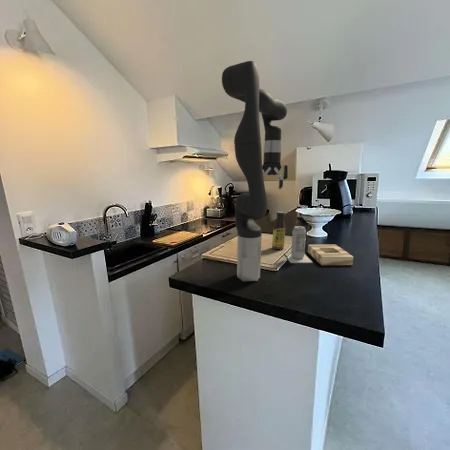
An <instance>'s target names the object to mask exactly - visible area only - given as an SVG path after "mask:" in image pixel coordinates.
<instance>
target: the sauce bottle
mask: <svg viewBox="0 0 450 450" xmlns="http://www.w3.org/2000/svg"><path fill="white" fill-rule="evenodd" d="M275 220H276V221H275V222H274V223H273V229H272V231H273V232H272V241H271V245H272V247H271V248H272V249H273V250H275V249H282V250H284V247H285V239H286V238H285V237H286V223H285V211H276V219H275Z"/></svg>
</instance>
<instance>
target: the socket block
mask: <svg viewBox="0 0 450 450" xmlns="http://www.w3.org/2000/svg"><path fill="white" fill-rule="evenodd" d="M307 253H308V254H309V255H310V256H311V257H312V258H313V259H314V260H315V261H316V262H317V263H318V264H320V265H321V266H353V263H354V256H353V255H352V254H350V253H349V252H348V251H346V250H344V248H342V247H340V246H338V245H337V244H308V246H307Z"/></svg>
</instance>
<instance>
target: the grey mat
mask: <svg viewBox="0 0 450 450" xmlns="http://www.w3.org/2000/svg"><path fill="white" fill-rule="evenodd" d="M287 260H288V262H289V264H313V263H314V262H313V261H312V260H311V259H310V258H309V257H308V256H307V254H306V253H304V257H303V259H294V258H292V256H291V255H290V256H289V258H288V259H287Z"/></svg>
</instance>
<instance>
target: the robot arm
mask: <svg viewBox="0 0 450 450" xmlns="http://www.w3.org/2000/svg"><path fill="white" fill-rule="evenodd" d="M221 75H222V76H221V85H222V88H223V90H224V92H225V94H226V95H228V96H229V97H231V98H233V99H235V100H238V101H240V102H243V103H244V110H243V111H244V112H243V114H242V117H241V120H240V122H239V124H238V126H237V128H236V131H235V135H234V138H233V143H234V153H235V159H236V162H237V165H238V167H239V169H240V170H241V172H242V174H243V176H244V177H245V179H246V182H247V186H248V192H242V193H239V194H238V196H237V198H236V200H235V203H234V204H235V205H234V216H235V228H236V230H237V246H236V247H237V250H236V251H237V252H236V253H237V254H236V258H237V259H236V277H237V278H238V279H239V280H240V281H241V282H258V281H259V279H260V278H261V259H262V257H261V255H262V232H263V231H262V228H261V226H260V225H258V223H256V221H255V220H262V219H263V218H264V217H265V215H266V214H267V210H268V198H267V193H266V185H265V180H264V178H265V177H266V176H277V177H278V179H279V180H278V189H279V190H281V189H282V188H283V187H284V180H287V179H289V177H288V169H289V168H288V165H282V164H281V160H282V157H281V156H282V127H280V126H277V125H273V124H272V122H276V121H282V120H284V119H285V118H286V116H287V114H288V108H287V106H286V104H285V102H283V101H282V100H280V99H277V98H274V97H273V96H271V94H270V93H269V92H268V91H266V90H265V89H261V88H260V74H259V69H258V66H257V64H256V62H255V61H254V60H247V61H243V62H240V63H239V62H238V63H237V64H233V65H230V66H229V65H228V67H226V68H224V70H223V71H222V73H221ZM260 113H261V118H262V121H263V127H264V142H263V143H264V144H263V150H262V138H261V136H262V135H261V126H260ZM262 151H263V154H262ZM281 169H282V171H283V175H282V174H281V172H280V170H281Z"/></svg>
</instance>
